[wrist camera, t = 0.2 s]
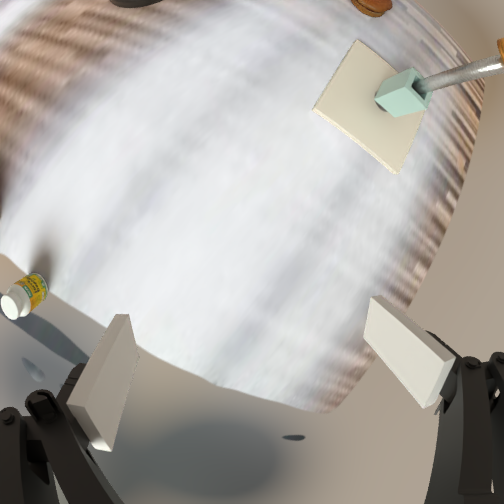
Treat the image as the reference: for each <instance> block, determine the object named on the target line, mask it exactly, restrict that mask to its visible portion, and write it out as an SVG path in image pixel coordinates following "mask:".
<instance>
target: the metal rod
mask: <svg viewBox="0 0 504 504" xmlns="http://www.w3.org/2000/svg"><path fill="white" fill-rule="evenodd" d="M497 45H498V49H499V52H500V55H496V56H492V57H489V58H485V59H482V60H478V61H475V62H471V63H468V64H465V65H462V66H458V67H455V68H452V69H449V70H446V71H443V72H441V73H438V74H435V75H432V76H429V77H427V78H424V79H421V80H419V81H416V82H414V83H412V86H411V87H412V88H413V89H414V90H415V91H416V92H417V93H418V94H419V95H421V94H425V93H428V92H431V91H434V90H438V89H441V88H444V87H448V86H451V85H455V84H459V83H463V82H466V81H470V80H474V79H478V78H483V77H487V76H491V75H496V74H501V73H504V38H501V39H498V40H497ZM377 92H378V91H377ZM377 92H376V93H375V96H376V94H377ZM375 102H376V101H375ZM376 104H377V106H378V107H379V108H380V109H381V110H382V111H384V112H388V111H387V110H385V109H384V108H383V107H382V106H381V105H380V104H379V103H377V102H376Z"/></svg>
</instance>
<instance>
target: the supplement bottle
mask: <svg viewBox="0 0 504 504" xmlns="http://www.w3.org/2000/svg"><path fill="white" fill-rule="evenodd" d="M47 294H48V288H47V284H46V282H45V280H44V278H43V277H42V276H41V275H39V274H37V273H31V274H29V275H27V276H25V277H24V278H22V279H21V280H19V281H17V282H16V283H14V284H13V285H11V286H10V287H9V288H8V290H7V294H5V295H4V296H3V297H2V299H1V306H2V309H3V311H4V313H5V314H6V316H7V317H8V318H10V319H13V320H14V319H16V318H18V317H19V316H26V315H27V314H28V313H30V312H31V311H32V310H33V309H34V308H35V307H36V306H38V305H39V304H40V303H41V302H42V301H44V299H46V297H47Z"/></svg>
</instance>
